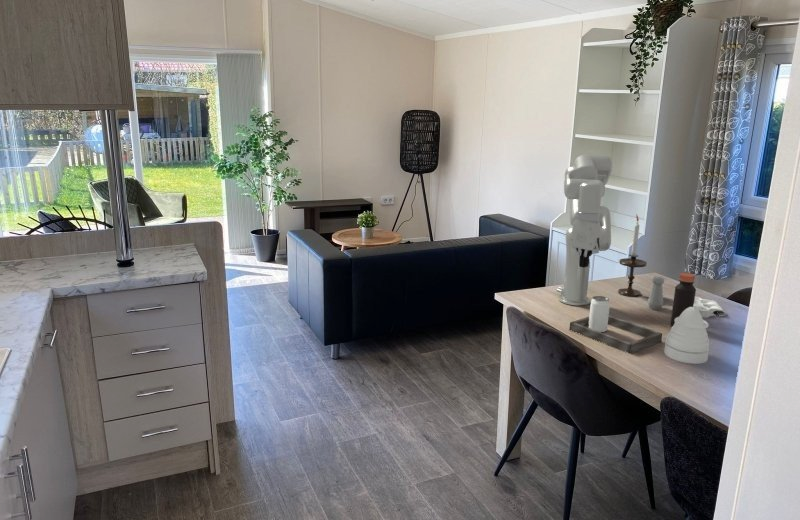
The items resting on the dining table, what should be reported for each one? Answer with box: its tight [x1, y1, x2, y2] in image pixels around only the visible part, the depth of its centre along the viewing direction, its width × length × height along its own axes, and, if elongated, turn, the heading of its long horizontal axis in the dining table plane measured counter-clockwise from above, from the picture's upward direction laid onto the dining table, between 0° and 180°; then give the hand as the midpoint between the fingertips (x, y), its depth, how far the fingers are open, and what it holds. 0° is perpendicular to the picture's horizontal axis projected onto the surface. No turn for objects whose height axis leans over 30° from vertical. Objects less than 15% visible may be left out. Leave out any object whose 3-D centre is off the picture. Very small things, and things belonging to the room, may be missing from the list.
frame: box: [568, 315, 663, 354], centre depth 207 cm, size 25×18×3 cm
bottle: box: [669, 272, 697, 327], centre depth 214 cm, size 7×7×20 cm
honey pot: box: [664, 304, 710, 365], centre depth 190 cm, size 13×13×18 cm
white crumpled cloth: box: [694, 296, 726, 319], centre depth 234 cm, size 3×18×15 cm
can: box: [588, 295, 611, 333], centre depth 212 cm, size 6×6×12 cm
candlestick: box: [618, 213, 647, 298], centre depth 250 cm, size 11×11×35 cm
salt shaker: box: [647, 276, 665, 311], centre depth 235 cm, size 6×6×13 cm
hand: (583, 266), depth 214 cm, fingers closed
